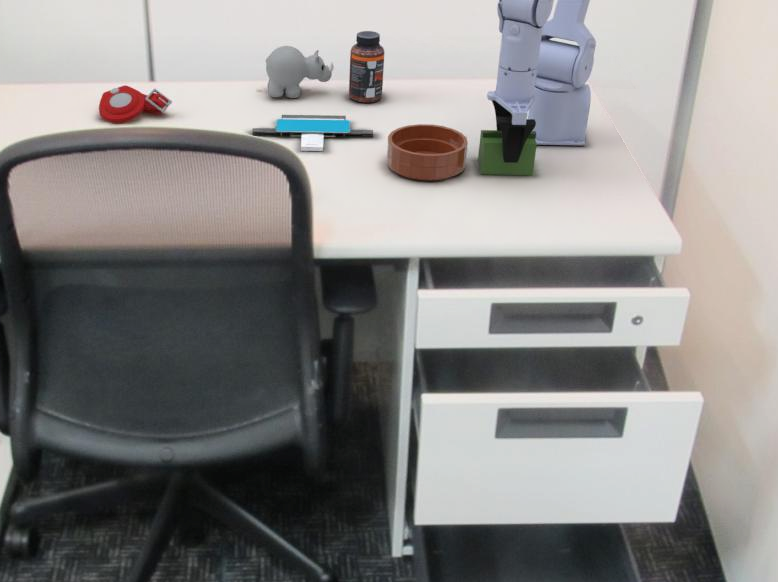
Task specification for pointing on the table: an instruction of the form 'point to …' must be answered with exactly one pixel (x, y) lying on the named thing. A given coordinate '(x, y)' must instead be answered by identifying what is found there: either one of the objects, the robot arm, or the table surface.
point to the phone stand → (312, 129)
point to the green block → (493, 155)
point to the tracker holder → (130, 104)
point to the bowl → (426, 152)
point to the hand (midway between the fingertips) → (507, 151)
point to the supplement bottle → (366, 68)
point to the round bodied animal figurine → (293, 71)
